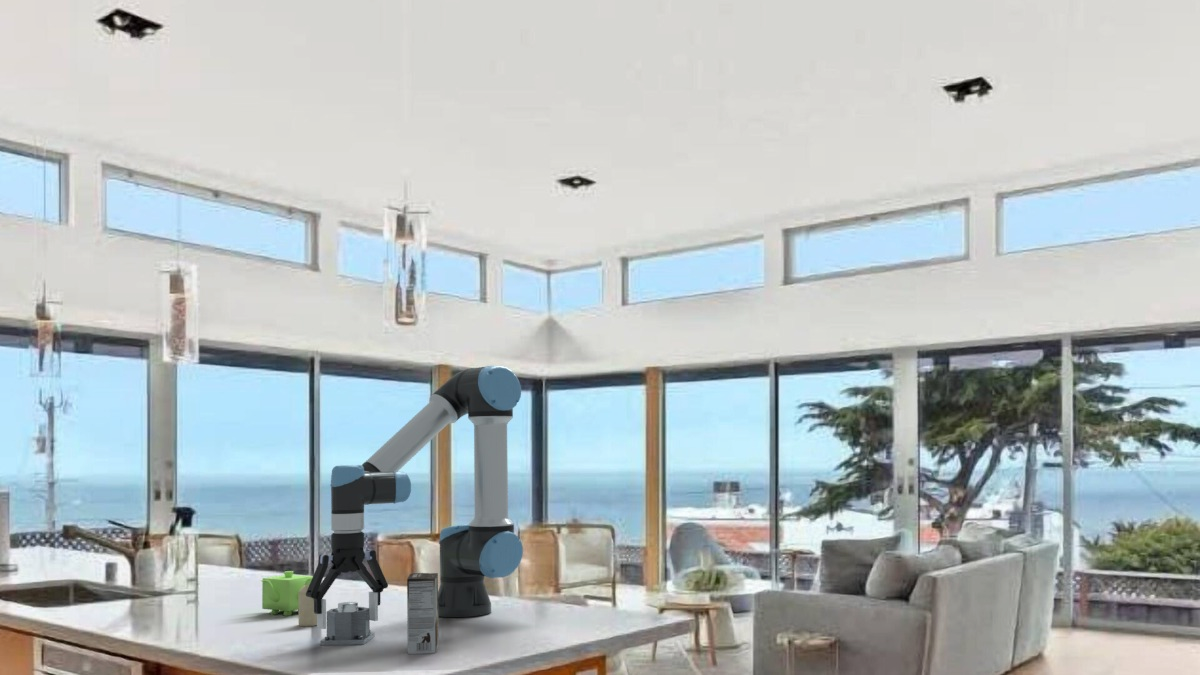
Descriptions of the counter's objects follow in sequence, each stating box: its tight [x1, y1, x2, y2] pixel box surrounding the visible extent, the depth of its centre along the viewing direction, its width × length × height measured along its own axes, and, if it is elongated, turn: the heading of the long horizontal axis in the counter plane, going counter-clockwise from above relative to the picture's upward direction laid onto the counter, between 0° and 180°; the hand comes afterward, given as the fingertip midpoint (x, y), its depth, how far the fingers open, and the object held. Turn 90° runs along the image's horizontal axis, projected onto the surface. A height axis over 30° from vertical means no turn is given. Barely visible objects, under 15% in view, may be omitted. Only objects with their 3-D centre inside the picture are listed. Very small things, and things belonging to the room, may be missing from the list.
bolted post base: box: [319, 601, 375, 646], centre depth 251 cm, size 10×10×8 cm
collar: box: [326, 606, 371, 640], centre depth 251 cm, size 10×9×6 cm
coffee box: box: [406, 572, 440, 655], centre depth 238 cm, size 9×6×16 cm
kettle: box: [260, 570, 313, 617], centre depth 296 cm, size 15×14×11 cm
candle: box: [298, 584, 317, 627], centre depth 275 cm, size 6×6×10 cm
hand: (347, 624), depth 251 cm, fingers open, 13 cm apart
